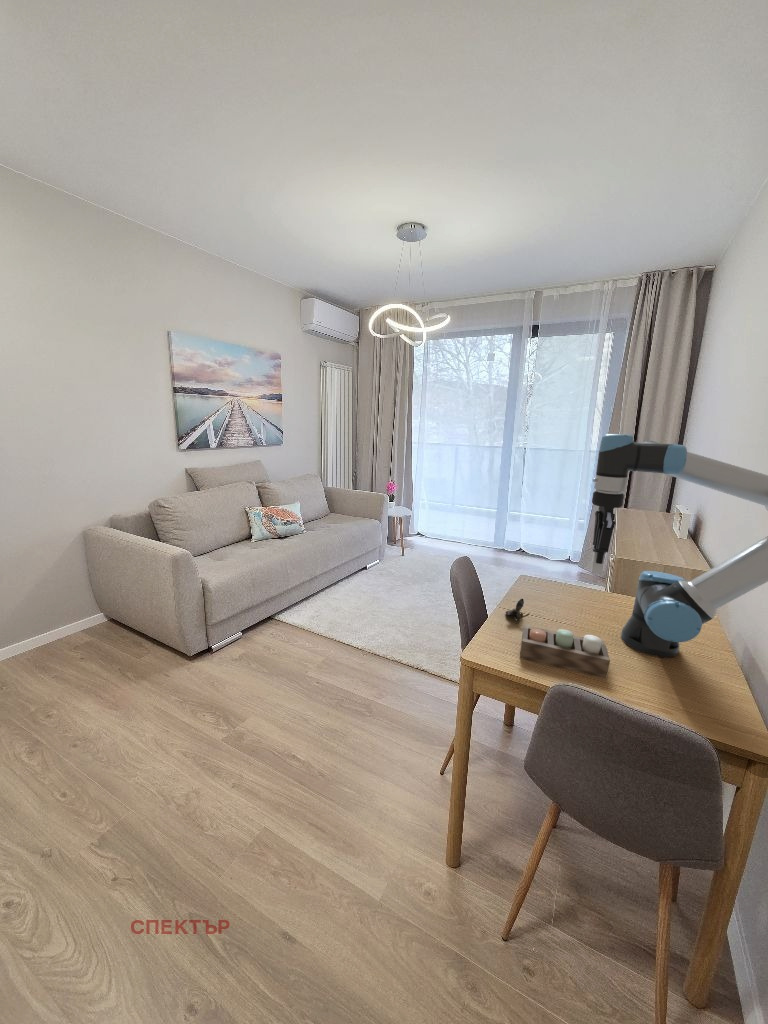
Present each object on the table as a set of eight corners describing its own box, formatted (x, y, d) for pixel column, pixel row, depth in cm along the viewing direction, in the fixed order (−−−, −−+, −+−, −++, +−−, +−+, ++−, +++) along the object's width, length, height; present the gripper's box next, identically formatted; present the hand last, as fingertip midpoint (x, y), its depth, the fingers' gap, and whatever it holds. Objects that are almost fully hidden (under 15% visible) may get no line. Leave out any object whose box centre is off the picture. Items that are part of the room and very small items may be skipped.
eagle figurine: (534, 622, 136) (528, 606, 144) (525, 606, 133) (519, 590, 142) (512, 631, 138) (507, 614, 146) (503, 615, 136) (498, 599, 144)
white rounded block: (597, 652, 116) (600, 636, 115) (599, 661, 112) (602, 644, 111) (580, 649, 117) (583, 633, 116) (581, 657, 113) (584, 640, 112)
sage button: (570, 647, 118) (573, 631, 117) (571, 654, 114) (574, 638, 113) (554, 643, 120) (556, 627, 119) (554, 651, 116) (557, 635, 115)
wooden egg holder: (601, 659, 119) (604, 641, 117) (606, 678, 109) (610, 660, 108) (521, 641, 126) (523, 624, 125) (519, 658, 117) (522, 641, 116)
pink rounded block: (543, 646, 121) (546, 630, 120) (543, 653, 117) (546, 637, 116) (528, 642, 122) (530, 627, 121) (527, 650, 118) (529, 634, 117)
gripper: (589, 486, 120) (578, 563, 125) (598, 494, 108) (585, 579, 113) (618, 488, 118) (605, 566, 123) (630, 496, 106) (616, 583, 111)
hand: (596, 572), depth 118 cm, fingers closed
